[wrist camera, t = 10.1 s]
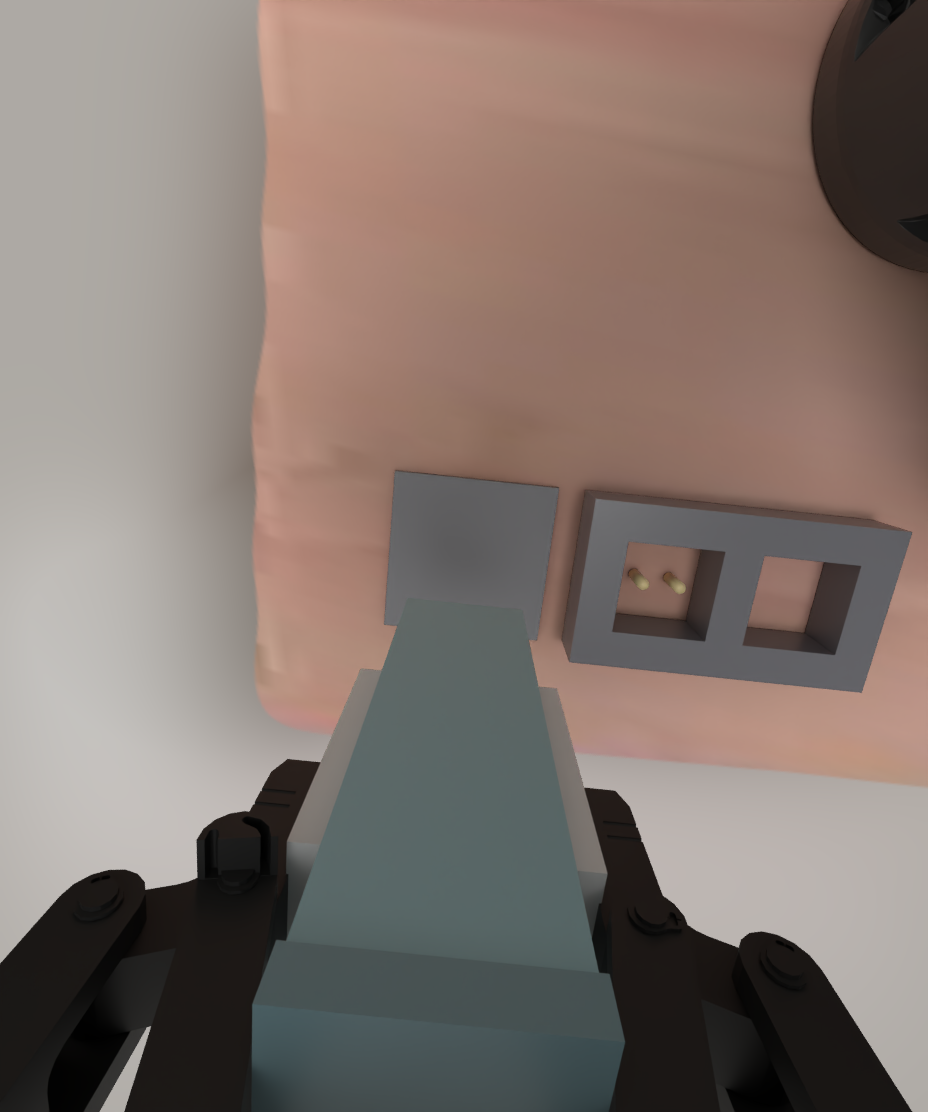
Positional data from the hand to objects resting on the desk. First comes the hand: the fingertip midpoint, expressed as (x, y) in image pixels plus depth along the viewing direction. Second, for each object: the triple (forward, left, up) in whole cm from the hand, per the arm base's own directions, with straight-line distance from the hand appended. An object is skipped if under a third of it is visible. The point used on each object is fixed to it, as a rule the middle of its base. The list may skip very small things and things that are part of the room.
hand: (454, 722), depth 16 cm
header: (+7, +12, -17) cm, 22 cm away
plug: (0, 0, -4) cm, 4 cm away
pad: (0, 0, -17) cm, 17 cm away
